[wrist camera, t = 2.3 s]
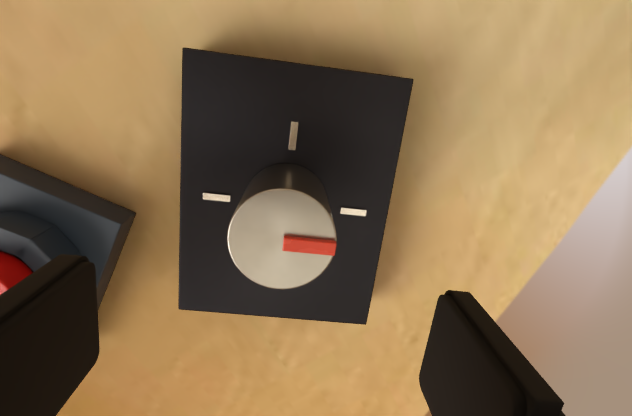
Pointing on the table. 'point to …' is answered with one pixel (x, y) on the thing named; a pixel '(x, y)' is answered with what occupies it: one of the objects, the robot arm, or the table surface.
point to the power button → (11, 271)
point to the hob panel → (291, 148)
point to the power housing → (58, 221)
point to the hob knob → (282, 228)
